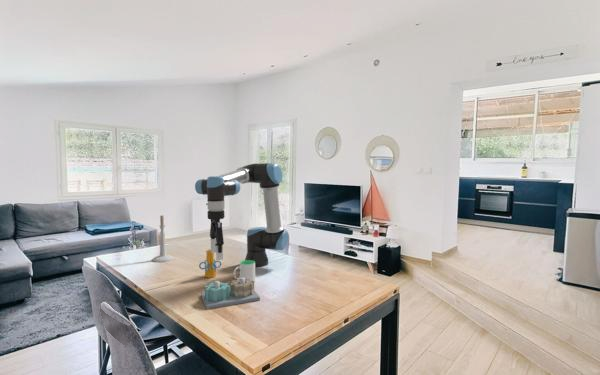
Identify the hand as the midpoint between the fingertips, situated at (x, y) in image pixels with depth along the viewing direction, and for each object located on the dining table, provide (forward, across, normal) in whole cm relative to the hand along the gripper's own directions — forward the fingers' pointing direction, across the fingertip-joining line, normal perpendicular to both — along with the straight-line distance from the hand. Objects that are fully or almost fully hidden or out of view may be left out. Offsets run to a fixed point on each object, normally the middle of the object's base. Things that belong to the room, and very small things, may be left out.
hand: (216, 255), depth 153 cm
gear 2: (+19, 0, +12) cm, 23 cm away
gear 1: (+19, 0, 0) cm, 19 cm away
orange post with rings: (+21, -35, +3) cm, 41 cm away
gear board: (+21, 0, +6) cm, 22 cm away
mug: (+21, -18, +18) cm, 33 cm away
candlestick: (+21, -83, -20) cm, 88 cm away
